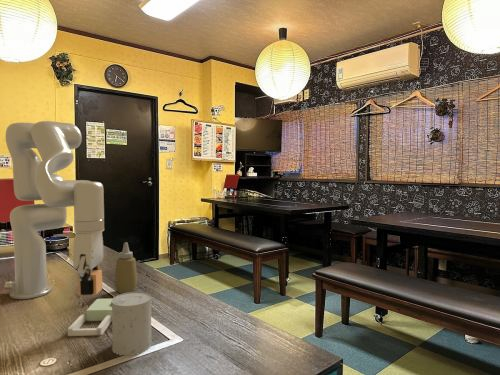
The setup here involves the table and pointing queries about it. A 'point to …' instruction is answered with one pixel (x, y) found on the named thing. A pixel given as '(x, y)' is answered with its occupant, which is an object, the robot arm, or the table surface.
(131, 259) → the squeeze bottle
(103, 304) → the green plate with dome
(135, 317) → the speckled stone cylinder
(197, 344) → the table surface
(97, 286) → the matte orange cube
